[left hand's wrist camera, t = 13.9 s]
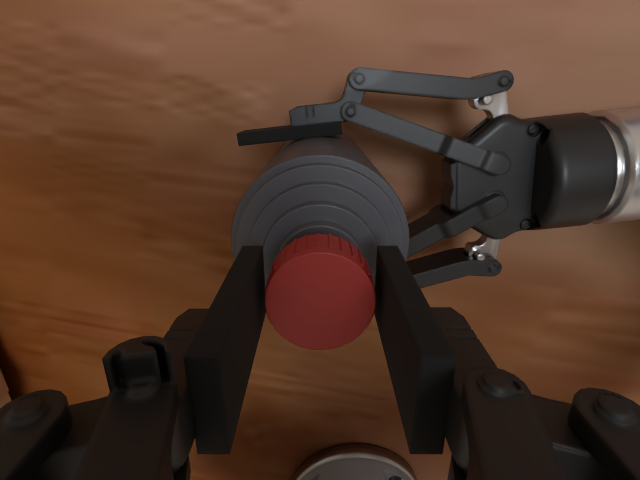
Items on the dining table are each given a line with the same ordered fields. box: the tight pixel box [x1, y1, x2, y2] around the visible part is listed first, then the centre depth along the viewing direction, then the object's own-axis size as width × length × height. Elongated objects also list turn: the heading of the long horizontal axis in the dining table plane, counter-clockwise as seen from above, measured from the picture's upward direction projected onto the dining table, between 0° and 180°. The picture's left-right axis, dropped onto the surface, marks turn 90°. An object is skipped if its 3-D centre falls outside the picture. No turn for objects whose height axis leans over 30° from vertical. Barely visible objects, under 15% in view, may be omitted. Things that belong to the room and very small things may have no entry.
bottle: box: [231, 134, 409, 292], centre depth 23 cm, size 8×8×21 cm
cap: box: [265, 233, 376, 350], centre depth 14 cm, size 4×4×2 cm
